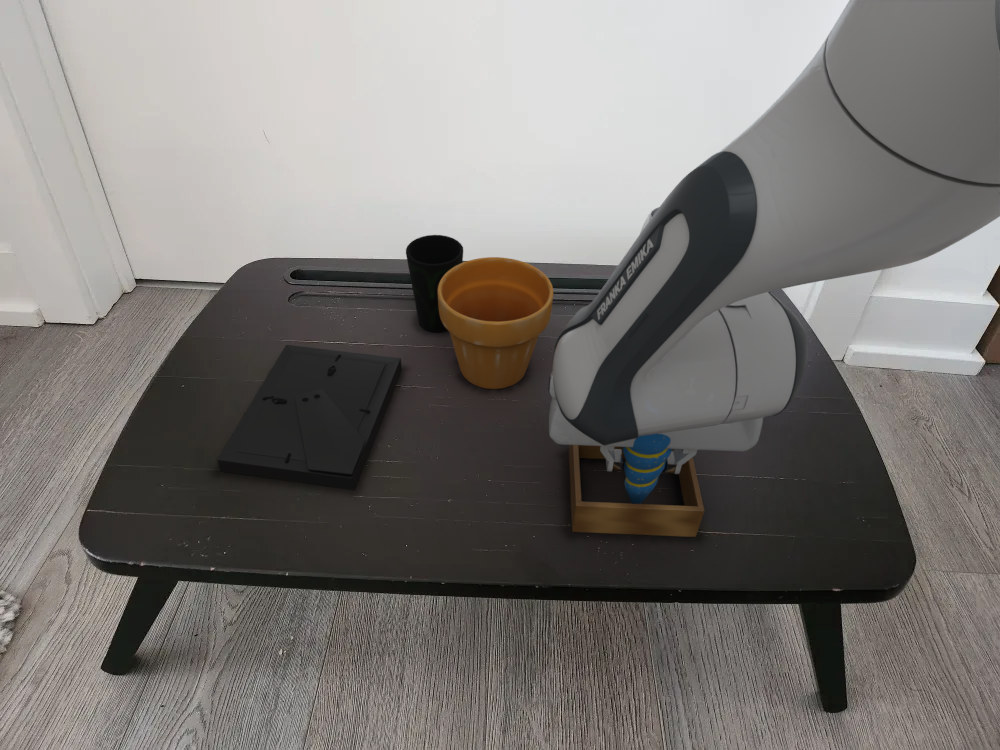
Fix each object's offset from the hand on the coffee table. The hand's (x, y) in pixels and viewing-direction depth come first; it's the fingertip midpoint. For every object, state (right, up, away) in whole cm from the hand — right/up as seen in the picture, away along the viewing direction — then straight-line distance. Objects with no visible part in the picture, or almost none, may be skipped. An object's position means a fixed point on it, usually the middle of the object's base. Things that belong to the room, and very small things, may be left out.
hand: (642, 468), depth 75 cm
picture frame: (-37, +4, +14) cm, 40 cm away
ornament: (0, -5, +4) cm, 6 cm away
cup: (-24, +17, +29) cm, 42 cm away
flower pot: (-16, +10, +22) cm, 29 cm away
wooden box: (0, -4, +6) cm, 7 cm away
